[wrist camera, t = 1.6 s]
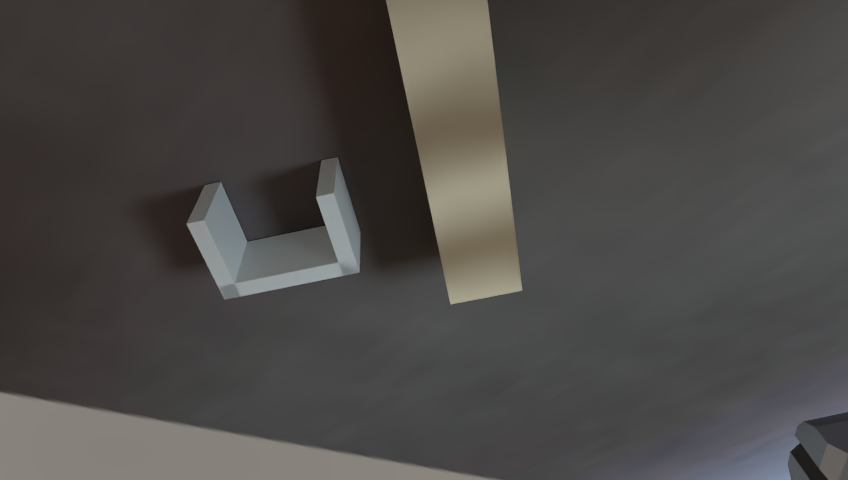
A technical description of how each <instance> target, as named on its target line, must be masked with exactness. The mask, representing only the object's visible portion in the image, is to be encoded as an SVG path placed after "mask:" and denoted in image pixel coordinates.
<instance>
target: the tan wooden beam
mask: <svg viewBox="0 0 848 480" xmlns="http://www.w3.org/2000/svg"><path fill="white" fill-rule="evenodd" d="M386 3H387V7H388V12H389V17H390V22H391V26H392V31H393V36H394V40H395V45H396V50H397V55H398V59H399V64H400V69H401V73H402V78H403V83H404V88H405V92H406V97H407V102H408V106H409V111H410V116H411V121H412V125H413V130H414V135H415V139H416V144H417V149H418V154H419V158H420V163H421V168H422V172H423V177H424V182H425V187H426V191H427V196H428V201H429V205H430V210H431V215H432V219H433V224H434V229H435V234H436V238H437V243H438V248H439V252H440V257H441V262H442V267H443V271H444V276H445V281H446V285H447V290H448V295H449V300H450V304H455V303H460V302H465V301H470V300H476V299H481V298H486V297H491V296H496V295H502V294H507V293H512V292H517V291H522V285H521V276H520V268H519V260H518V251H517V243H516V235H515V226H514V218H513V210H512V201H511V193H510V185H509V176H508V168H507V159H506V151H505V143H504V134H503V126H502V118H501V109H500V101H499V93H498V84H497V76H496V68H495V59H494V51H493V42H492V34H491V26H490V17H489V9H488V1H487V0H386Z"/></svg>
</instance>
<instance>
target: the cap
mask: <svg viewBox="0 0 848 480" xmlns="http://www.w3.org/2000/svg"><path fill="white" fill-rule="evenodd" d="M316 199H317V202H318V205H319V208H320V211H321V213H322V216H323V219H324V222H325V225H326V226H321V227H316V228H311V229H306V230H302V231H297V232H292V233H287V234H282V235H277V236H273V237H268V238H263V239H258V240H253V241H248V242H247V240H246V238H245V235H244V233H243V231H242V229H241V226H240V224H239V222H238V220H237V217H236V215H235V213H234V211H233V208H232V206H231V204H230V201H229V199H228V197H227V195H226V192H225V190H224V188H223V186H222V183H221V182H217V183H212V184H208V185H205V186H204V188H203V190H202V192H201V194H200V196H199V198H198V201H197V203H196V205H195V207H194V209H193V211H192V213H191V215H190V217H189V219H188V222H187V226H188V228H189V230H190V232H191V234H192V236H193V238H194V240H195V242H196V244H197V246H198V248H199V250H200V252H201V254H202V256H203V258H204V260H205V262H206V264H207V266H208V268H209V270H210V272H211V274H212V276H213V278H214V280H215V282H216V284H217V286H218V288H219V290H220V292H221V294H222V296H223V298H224V300H226V299H230V298H235V297H240V296H245V295H250V294H255V293H260V292H265V291H270V290H275V289H280V288H285V287H290V286H295V285H300V284H305V283H310V282H315V281H320V280H325V279H330V278H335V277H340V276H345V275H349V274H354V273H359V272H360V229H359V225H358V222H357V219H356V216H355V212H354V209H353V206H352V203H351V199H350V196H349V193H348V190H347V186H346V183H345V180H344V177H343V173H342V170H341V167H340V163H339V160H338V157H336V158H331V159H326V160H321V166H320V172H319V179H318V186H317V192H316Z"/></svg>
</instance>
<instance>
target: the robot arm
mask: <svg viewBox="0 0 848 480" xmlns="http://www.w3.org/2000/svg"><path fill="white" fill-rule="evenodd" d="M795 436H796V438H797V439H798V440H799V442H800V444H798V445H797V446H796V447H795V448H794V449H793V450H792V451H791V452H790V456H789V461H788V467H789V472H790V477H791V480H848V412H846V413H842V414H837V415H832V416H827V417H822V418H818V419H813V420H808V421H803V422H802V423H801V424H799V425H798V426H797V429H796V433H795Z"/></svg>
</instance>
